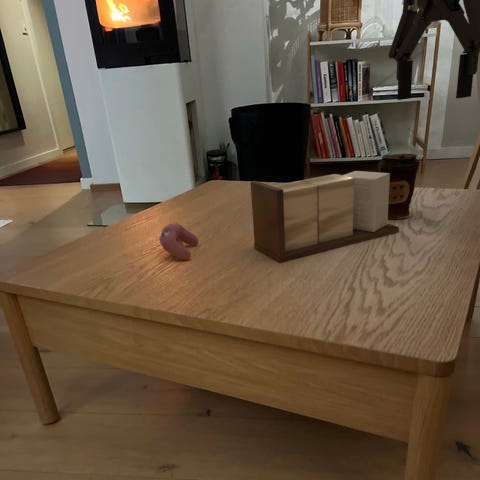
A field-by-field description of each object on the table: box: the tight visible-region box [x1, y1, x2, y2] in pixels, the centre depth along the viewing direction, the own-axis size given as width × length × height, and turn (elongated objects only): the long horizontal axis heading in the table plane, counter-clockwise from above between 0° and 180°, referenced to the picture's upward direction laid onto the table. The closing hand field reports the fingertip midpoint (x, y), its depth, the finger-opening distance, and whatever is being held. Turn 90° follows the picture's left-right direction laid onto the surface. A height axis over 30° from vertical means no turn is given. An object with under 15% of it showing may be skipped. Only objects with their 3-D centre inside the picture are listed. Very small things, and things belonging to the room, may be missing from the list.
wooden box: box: [250, 173, 400, 263], centre depth 92 cm, size 10×28×13 cm, turn 116°
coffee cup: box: [377, 153, 421, 220], centre depth 103 cm, size 9×8×13 cm
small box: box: [341, 170, 390, 232], centre depth 96 cm, size 8×6×10 cm
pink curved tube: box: [158, 221, 199, 261], centre depth 94 cm, size 10×5×7 cm, turn 174°
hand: (431, 98), depth 86 cm, fingers open, 13 cm apart
